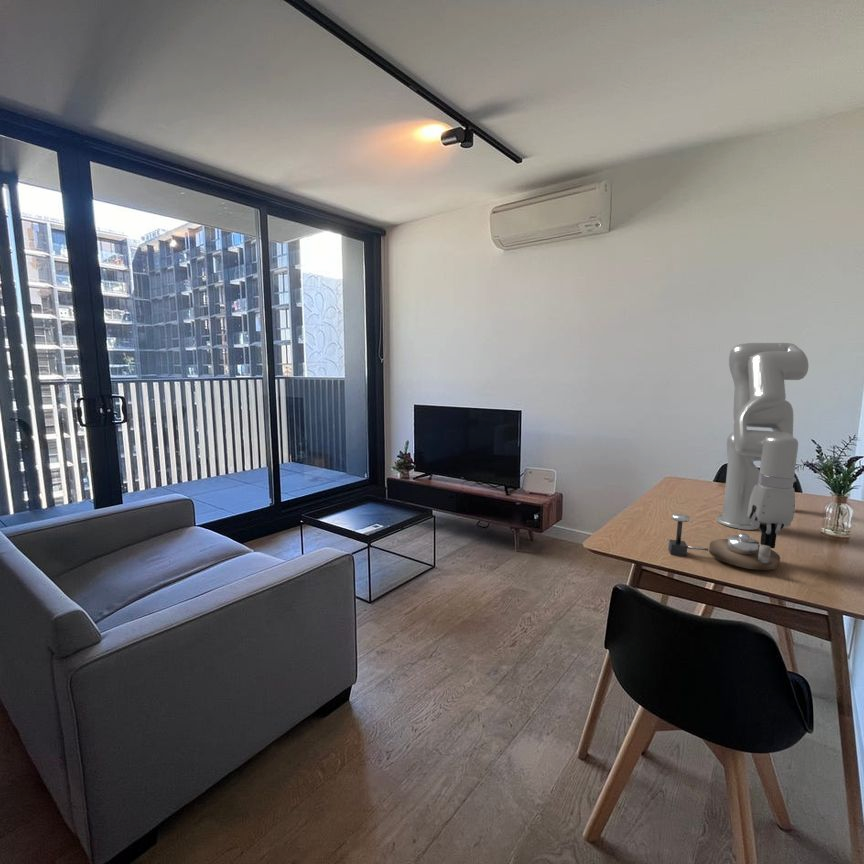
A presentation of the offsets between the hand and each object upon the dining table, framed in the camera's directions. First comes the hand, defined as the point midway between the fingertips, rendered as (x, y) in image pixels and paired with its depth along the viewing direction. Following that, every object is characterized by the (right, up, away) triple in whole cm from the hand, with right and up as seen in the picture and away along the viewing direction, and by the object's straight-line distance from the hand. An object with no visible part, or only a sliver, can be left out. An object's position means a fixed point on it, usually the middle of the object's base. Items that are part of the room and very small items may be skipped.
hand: (767, 546), depth 127 cm
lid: (-7, -1, -1) cm, 7 cm away
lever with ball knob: (-20, -3, +4) cm, 20 cm away
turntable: (-7, -3, 0) cm, 7 cm away
